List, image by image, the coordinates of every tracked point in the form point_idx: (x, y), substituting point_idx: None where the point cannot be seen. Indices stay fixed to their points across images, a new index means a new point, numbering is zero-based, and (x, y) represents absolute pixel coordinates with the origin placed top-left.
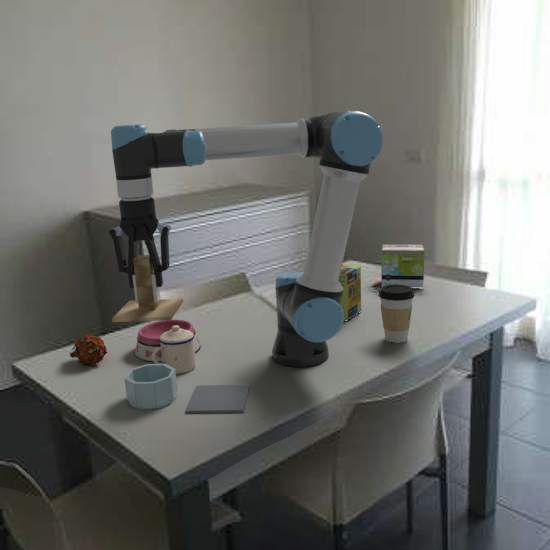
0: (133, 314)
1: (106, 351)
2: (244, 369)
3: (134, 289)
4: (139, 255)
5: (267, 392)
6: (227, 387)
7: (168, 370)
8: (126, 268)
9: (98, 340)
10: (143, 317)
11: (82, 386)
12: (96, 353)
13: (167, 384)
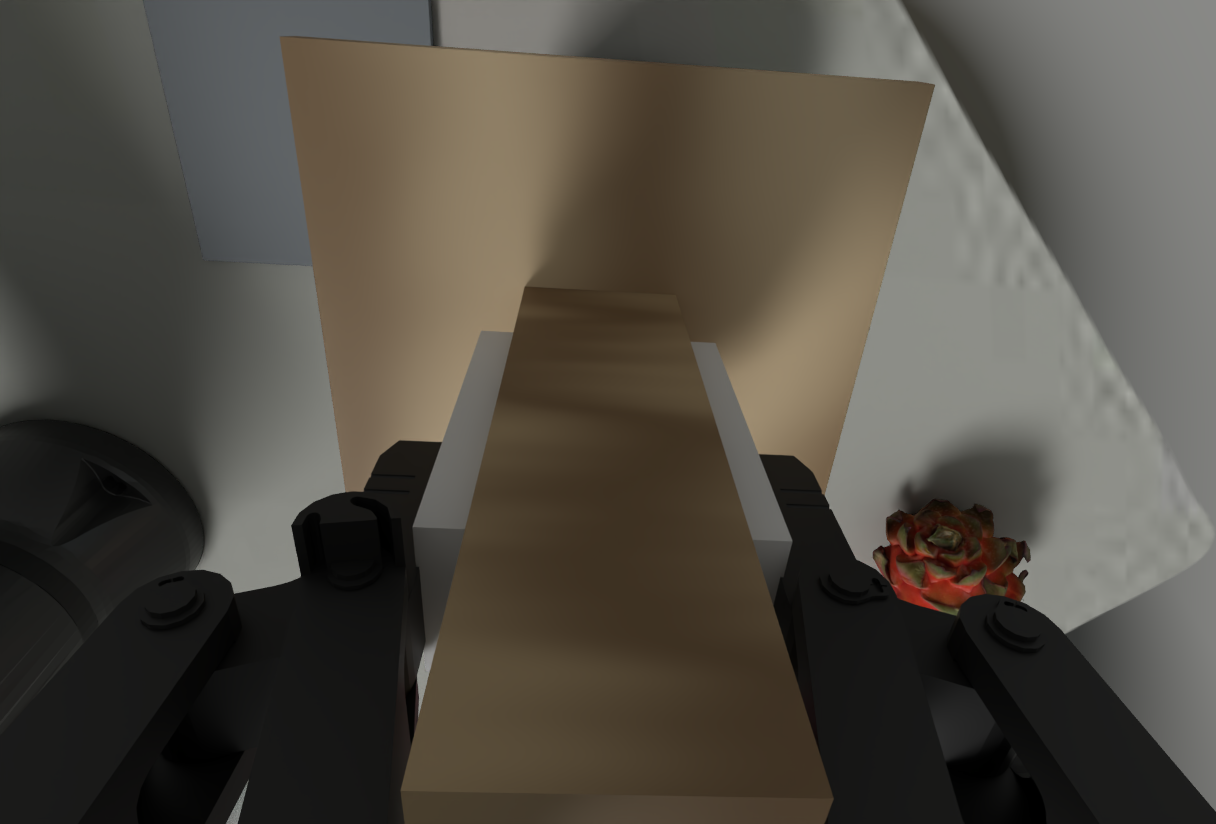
0: (717, 192)
1: (878, 555)
2: (285, 423)
3: (740, 418)
4: None
5: (107, 193)
6: (296, 239)
7: None
8: (925, 667)
9: (925, 596)
10: (589, 66)
11: (948, 330)
12: (920, 530)
13: None
